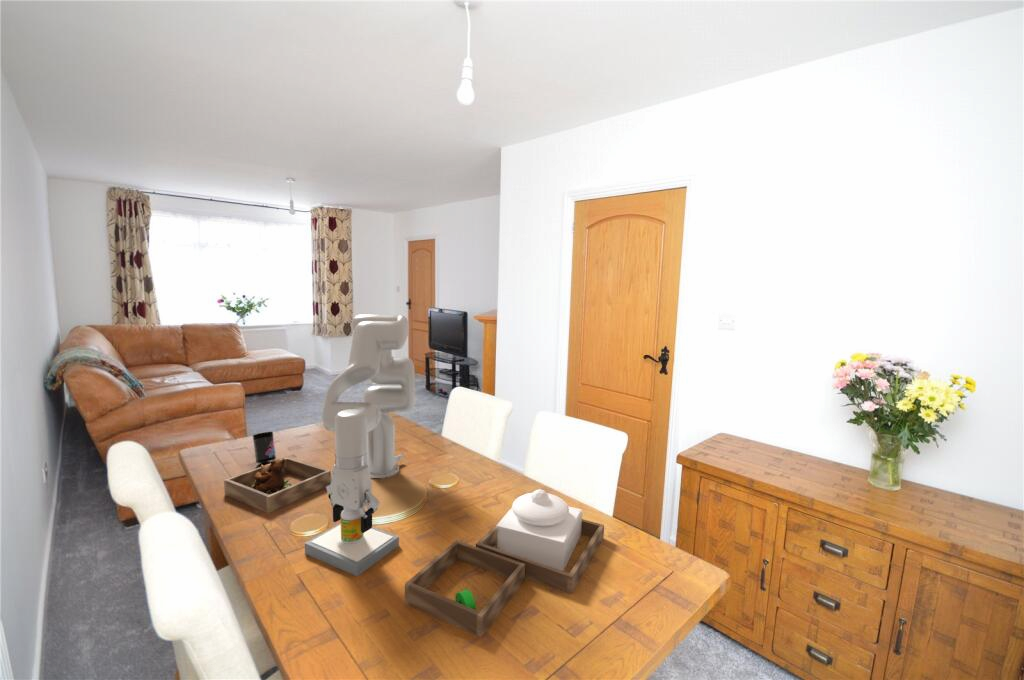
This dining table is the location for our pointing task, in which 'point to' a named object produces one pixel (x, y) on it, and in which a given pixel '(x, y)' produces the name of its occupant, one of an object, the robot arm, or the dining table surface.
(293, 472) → the brown wooden tray
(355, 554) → the plinth
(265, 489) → the bear figurine
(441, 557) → the tray
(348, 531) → the supplement bottle
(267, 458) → the supplement container
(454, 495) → the dining table surface
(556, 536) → the butter dish
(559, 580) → the dish tray frame
